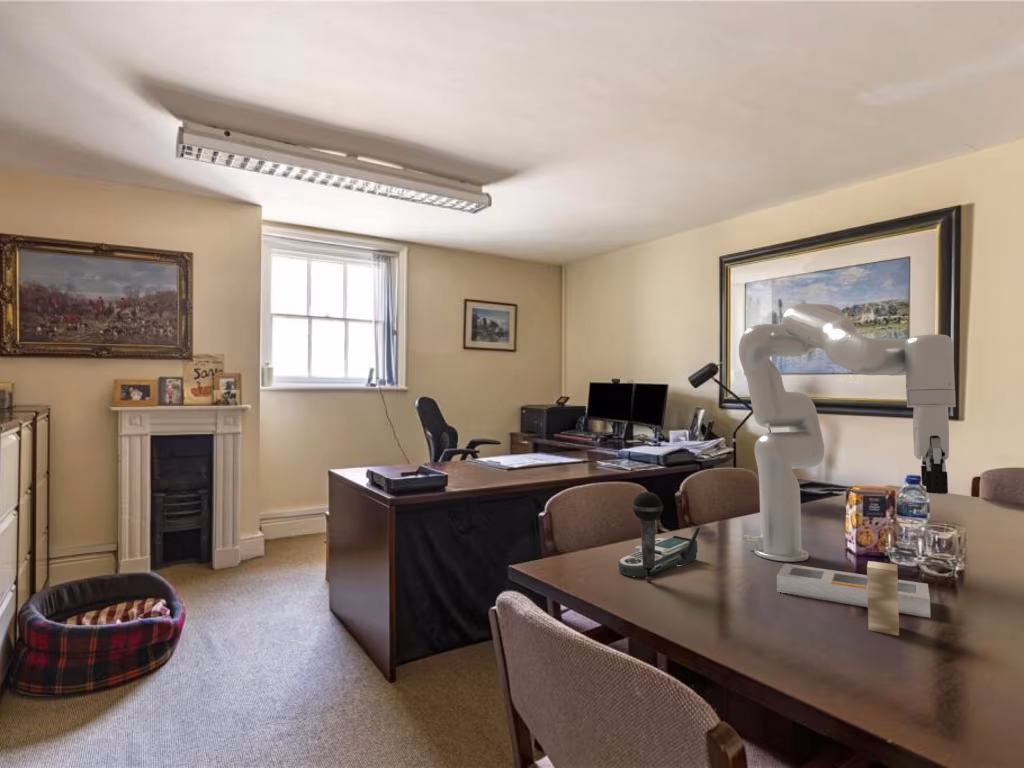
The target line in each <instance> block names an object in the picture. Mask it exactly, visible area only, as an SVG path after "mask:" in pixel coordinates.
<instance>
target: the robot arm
mask: <svg viewBox="0 0 1024 768" xmlns="http://www.w3.org/2000/svg"><path fill="white" fill-rule="evenodd" d="M953 343H954V342H953V339H952V338H951V336H949V335H946V334H937V333H935V334H934V333H933V334H921V335H920V334H919V335H914V336H911V337H908V338H883V337H882V338H880V337H877V338H876V337H873V338H871V337H866V336H863V335H860V334H857V333H856V327H855V323H854V321H853V320H851V319H850V318H849V317H846V316H845V314H844V312H843V310H841V309H840V308H838V307H837V306H835V305H832V304H821V303H799V304H794V305H791V307H789V308H788V309H787V310H786V311H785V312H784V313H783V314H782V319H781V323H779V324H778V323H776V324H775V323H762V324H756V325H752V326H750V327H749V328H747V329H746V330H745V331H744V332H743V333H742V335H741V337H740V340H739V344H738V357H739V361H740V364H741V367H742V369H743V372H744V375H745V378H746V381H747V386H748V387H747V388H748V393H749V398H750V402H751V403H750V404H751V407H752V413H753V416H754V420H755V422H756V424H758V425H759V426H760V427H763V428H768V429H769V428H770V429H771V428H772V429H773V428H774V429H776V428H777V429H779V428H780V429H781V428H788V430H789V431H784V432H783V431H782V432H779V431H778V432H769V433H766V434H763V435H761V436H760V437H759V438H758V439H757V440H756V442H755V444H754V459H755V461H756V466H757V472H758V484H759V485H758V486H759V516H760V517H759V523H760V525H759V527H760V530H759V531H760V534H759V535H758V534H757V535H756V536H755V535H750V534H749V535H748V534H744V535H743V537H742V538H743V539H742V540H743V542H744V543H745V544H748V545H755V547H754V549H753V551H754V554H755V555H757V556H759V557H761V558H764V559H766V560H771V561H779V562H790V563H791V562H795V563H796V562H803V561H807V560H808V559H809V551H806V550H805V549H802V522H801V521H802V520H801V519H802V518H801V517H802V516H801V514H802V513H801V512H802V510H801V487H800V484H799V481H798V479H797V477H796V475H795V473H794V471H793V470H795V469H809V468H810V469H811V468H814V467H817V466H819V465H820V464H821V463H822V461H823V460H824V457H825V445H824V438H823V434H822V429H821V425H820V424H821V423H820V419H819V415H818V412H817V408H816V405H815V402H813V400H812V399H811V398H810V396H809V395H807V394H805V393H803V392H799V391H786V389H785V387H784V383H783V377H782V374H781V372H780V370H779V369H778V367H777V366H776V364H774V362H773V361H772V360H771V359H770V358H771V357H783V358H785V357H787V358H789V357H793V358H794V357H801V356H804V355H807V354H809V353H810V352H812V351H814V350H816V349H818V348H819V349H820V350H823V351H824V353H825V355H826V356H827V358H828V359H829V361H831V362H832V363H833V364H836V365H838V366H839V367H841V368H845V369H846V370H849V371H851V372H853V373H856V374H859V375H863V376H864V375H865V376H905V390H906V408H913V412H912V413H913V415H912V427H913V428H912V431H913V432H912V434H913V435H912V436H913V456H914V457H915V458H916V459H917V460H921V464H922V465H920V474H921V486H924V487H925V492H926V493H928V494H937V495H939V494H941V495H946V494H948V493H949V487H948V485H949V483H948V480H949V479H948V471H947V466H946V460H948V459H949V457H950V425H949V424H950V422H949V408H956V407H957V406H956V390H955V389H956V385H955V364H954V363H955V362H954V360H955V359H954V344H953Z"/></svg>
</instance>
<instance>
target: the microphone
mask: <svg viewBox="0 0 1024 768" xmlns="http://www.w3.org/2000/svg"><path fill="white" fill-rule="evenodd" d="M631 508H632V510H633V513H634V514H635V517H637V519H639V520H640V535H641V545H642V561H643V567H645V569H646V570H647V577H645V580H646V582H647V583H651V582H652V581H653V578H652V575H650V570H652V568H654V567H655V539H656V520H658V519H659V518H660V516H661V515H662V513H663V510H664V505H663V502H662V500H661V498H660V497H659V496H658V495H657V494H656V493H653V492H650V491H644V492H641V493H638V494H637V495H636V496H635V497H634V500H633V502H632V505H631Z"/></svg>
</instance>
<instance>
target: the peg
mask: <svg viewBox="0 0 1024 768" xmlns="http://www.w3.org/2000/svg"><path fill="white" fill-rule="evenodd" d="M866 575H867V587H868V607H867V615H868V616H867V619H868V620H867V621H868V623H867V624H868V626H867V627H868V631H873V632H877V633H883V634H888V635H894V636H900V621H899V620H900V617H899V616H900V615H899V614H900V613H899V610H898V580H899V579H898V577H899V575H898V564H896V563H895V564H894V563H887V562H881V561H880V562H879V561H870V560H868V561H867V565H866Z"/></svg>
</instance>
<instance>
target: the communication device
mask: <svg viewBox="0 0 1024 768" xmlns="http://www.w3.org/2000/svg"><path fill="white" fill-rule="evenodd" d="M700 530H701V529H700V527H697V528H696V529H695V531H694V533H693V534H692V537H691V538H688V537H683V536H680V535H673V536H672V537H667V538H663V537H658V538H655V567H654V568H652V570H650V576H652V575H654V574H656V573H659V572H661V571H663V570H665V569H667V568H669V567H674V566H677V565H683V564H685V563H688V562H690V563H691V561H692V562H694V561H696V560H697V553H698V540H696V539H697V537H698V534H699V531H700ZM634 550H635V551H634V552H633V553H631V554H629V555H628V554H627V555H626V556H623V557H622V558H621V559H619V560H618V572H620V574H621V573H622V574H621V575H623V574H624V575H623V576H625V575H628V576H627V577H629V576H635V577H634V578H642V577H641V576H647V570H646V569H645V567H643V561H642V544H640V545H637V546H635V547H634ZM688 564H689V563H688ZM672 565H673V566H672ZM685 565H686V564H685ZM683 566H684V565H683ZM658 571H659V572H658ZM653 573H654V574H653ZM651 574H652V575H651Z"/></svg>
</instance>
